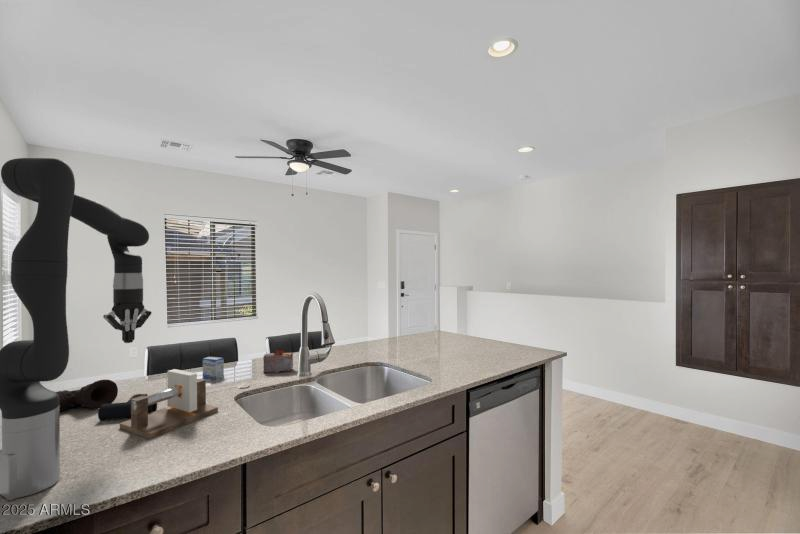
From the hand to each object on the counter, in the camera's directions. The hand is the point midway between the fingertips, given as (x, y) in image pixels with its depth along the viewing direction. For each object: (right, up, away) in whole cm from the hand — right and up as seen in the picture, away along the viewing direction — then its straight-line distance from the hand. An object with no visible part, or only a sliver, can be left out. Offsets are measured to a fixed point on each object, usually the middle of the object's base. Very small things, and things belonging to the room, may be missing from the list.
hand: (128, 342), depth 113 cm
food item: (+27, -26, +59) cm, 70 cm away
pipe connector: (-6, -27, +10) cm, 29 cm away
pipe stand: (+11, -26, +5) cm, 29 cm away
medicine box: (+1, -26, +50) cm, 56 cm away
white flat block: (+12, -24, +8) cm, 28 cm away
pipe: (-28, -27, +16) cm, 42 cm away
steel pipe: (+11, -19, +5) cm, 22 cm away
